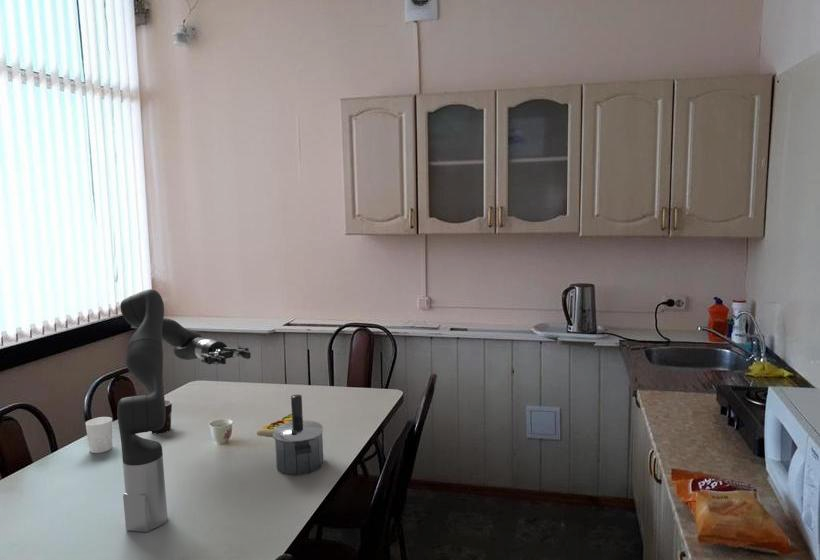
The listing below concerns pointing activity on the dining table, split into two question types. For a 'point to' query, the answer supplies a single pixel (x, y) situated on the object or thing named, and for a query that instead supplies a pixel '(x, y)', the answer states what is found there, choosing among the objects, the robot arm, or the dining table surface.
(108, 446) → the white cup
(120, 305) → the robot arm
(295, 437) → the lid
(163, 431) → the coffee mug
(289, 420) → the pizza slice
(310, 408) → the dining table surface
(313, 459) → the pot
